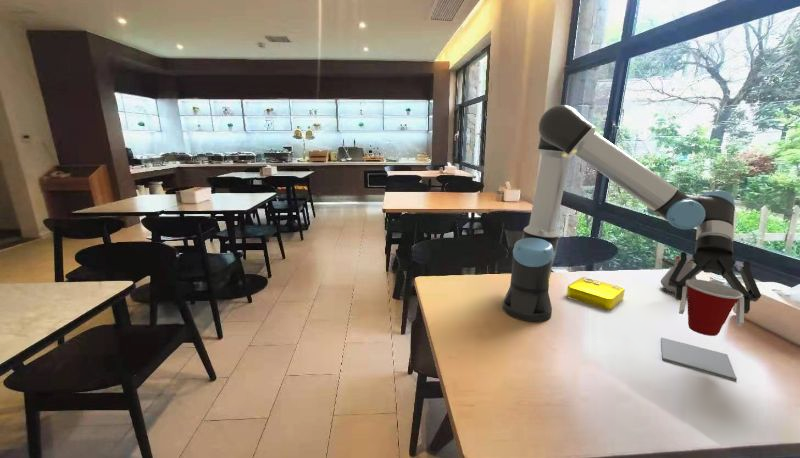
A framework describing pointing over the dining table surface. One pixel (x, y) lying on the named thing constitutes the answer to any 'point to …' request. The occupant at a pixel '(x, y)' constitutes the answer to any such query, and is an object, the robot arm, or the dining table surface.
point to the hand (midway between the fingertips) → (709, 317)
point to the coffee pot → (683, 273)
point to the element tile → (595, 293)
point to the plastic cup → (709, 305)
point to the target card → (697, 358)
